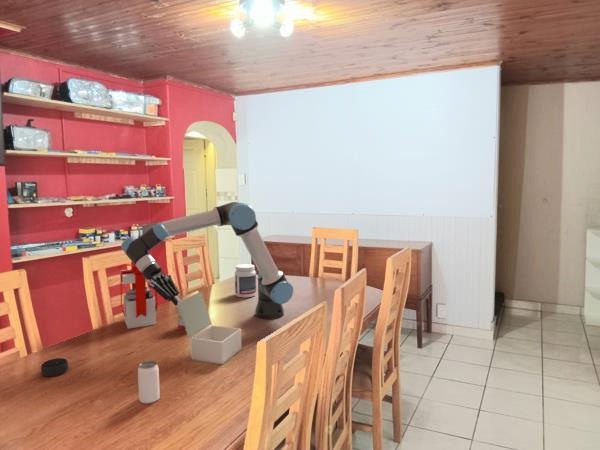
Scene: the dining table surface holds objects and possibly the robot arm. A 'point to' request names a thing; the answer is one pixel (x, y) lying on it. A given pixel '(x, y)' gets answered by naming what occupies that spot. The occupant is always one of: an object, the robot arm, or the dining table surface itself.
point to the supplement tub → (245, 281)
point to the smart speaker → (54, 367)
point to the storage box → (216, 344)
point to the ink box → (180, 322)
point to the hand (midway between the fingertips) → (183, 309)
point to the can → (148, 382)
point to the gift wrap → (137, 299)
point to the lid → (194, 314)
